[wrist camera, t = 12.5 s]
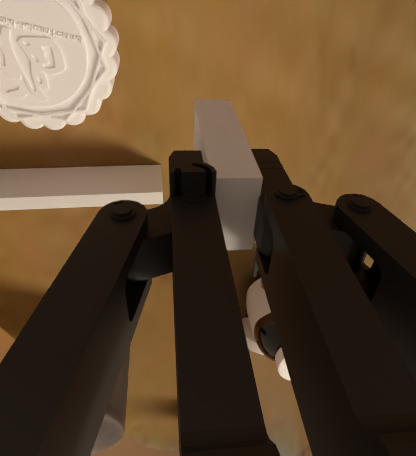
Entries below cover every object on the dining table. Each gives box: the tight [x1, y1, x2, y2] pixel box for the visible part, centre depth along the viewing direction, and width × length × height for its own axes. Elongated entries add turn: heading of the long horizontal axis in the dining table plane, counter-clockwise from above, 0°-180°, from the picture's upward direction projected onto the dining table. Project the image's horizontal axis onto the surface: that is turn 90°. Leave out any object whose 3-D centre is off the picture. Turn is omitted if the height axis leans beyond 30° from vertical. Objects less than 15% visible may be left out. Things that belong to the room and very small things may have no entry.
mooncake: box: [0, 0, 120, 130], centre depth 27 cm, size 12×12×4 cm
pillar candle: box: [91, 346, 130, 454], centre depth 44 cm, size 10×10×15 cm
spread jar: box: [242, 275, 291, 381], centre depth 45 cm, size 12×11×12 cm
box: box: [0, 165, 163, 210], centre depth 26 cm, size 24×19×5 cm
